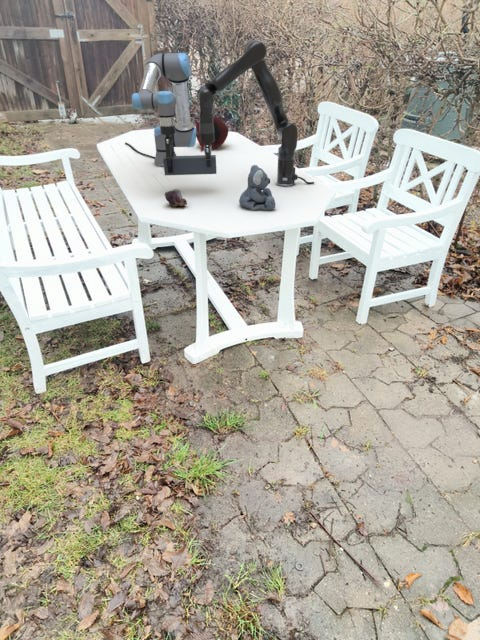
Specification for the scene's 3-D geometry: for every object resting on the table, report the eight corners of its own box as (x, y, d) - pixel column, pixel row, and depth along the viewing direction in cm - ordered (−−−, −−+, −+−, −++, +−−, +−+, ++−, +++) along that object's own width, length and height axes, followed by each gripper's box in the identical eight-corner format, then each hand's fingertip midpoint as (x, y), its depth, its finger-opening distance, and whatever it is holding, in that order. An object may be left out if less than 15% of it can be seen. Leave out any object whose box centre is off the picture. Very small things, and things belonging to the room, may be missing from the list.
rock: (181, 203, 237) (163, 205, 233) (179, 186, 233) (160, 188, 229) (189, 206, 227) (170, 209, 223) (187, 189, 224) (168, 191, 220)
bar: (164, 175, 238) (163, 158, 234) (165, 172, 243) (163, 156, 238) (216, 173, 239) (215, 157, 234) (216, 171, 243) (215, 154, 238)
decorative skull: (193, 122, 333) (191, 119, 309) (224, 115, 332) (225, 111, 308) (200, 152, 340) (198, 151, 316) (231, 145, 339) (231, 144, 315)
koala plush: (276, 211, 223) (277, 171, 212) (240, 212, 222) (240, 172, 211) (271, 199, 237) (272, 161, 226) (237, 200, 236) (237, 162, 225)
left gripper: (173, 130, 217) (177, 176, 230) (176, 120, 237) (180, 163, 249) (157, 130, 217) (162, 176, 230) (162, 121, 236) (166, 163, 249)
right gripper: (214, 134, 223) (215, 169, 233) (214, 128, 235) (215, 161, 245) (199, 134, 223) (201, 169, 233) (199, 128, 235) (202, 161, 245)
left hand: (171, 169), depth 239 cm, fingers open, 11 cm apart
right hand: (208, 165), depth 239 cm, fingers closed on bar, 5 cm apart
